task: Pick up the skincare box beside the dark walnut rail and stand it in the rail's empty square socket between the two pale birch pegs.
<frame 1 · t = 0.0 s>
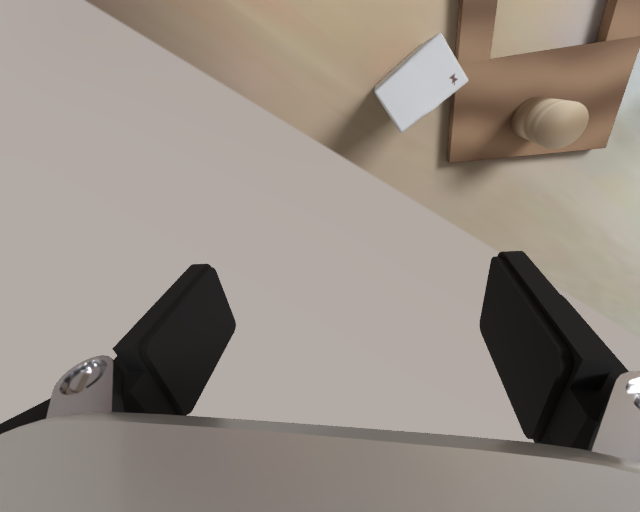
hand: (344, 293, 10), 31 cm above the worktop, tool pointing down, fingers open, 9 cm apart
skincare box: (405, 82, 33), on the worktop
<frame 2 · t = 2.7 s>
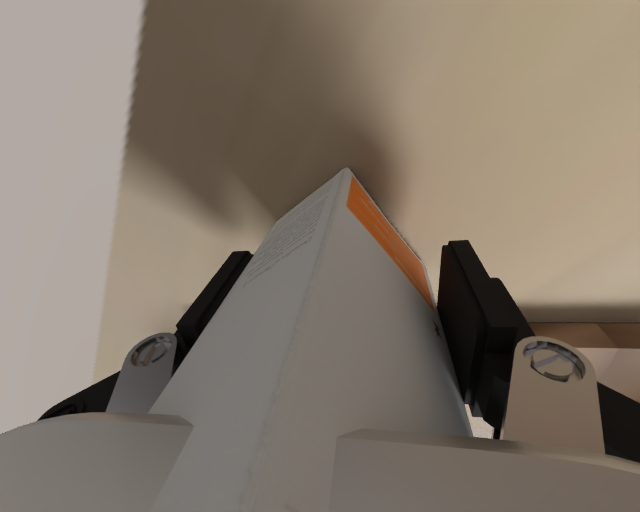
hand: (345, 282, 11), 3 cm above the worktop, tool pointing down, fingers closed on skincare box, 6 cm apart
walnut rail: (462, 415, 19), on the worktop
skincare box: (351, 239, 14), on the worktop, touching gripper
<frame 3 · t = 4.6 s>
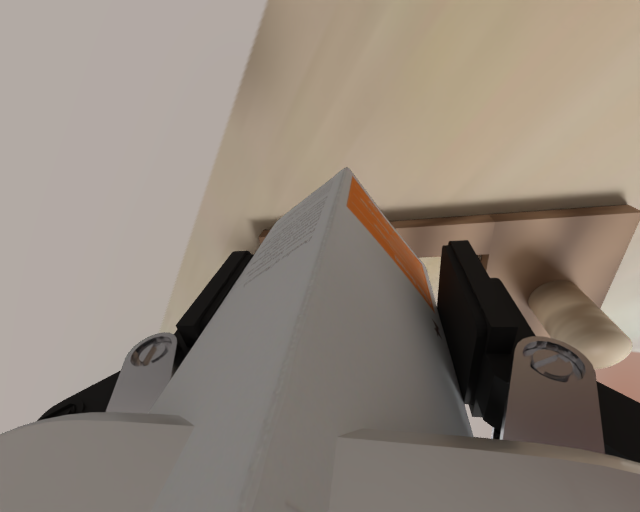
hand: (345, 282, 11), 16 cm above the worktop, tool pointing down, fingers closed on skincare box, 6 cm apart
walnut rail: (422, 291, 30), on the worktop
skincare box: (351, 239, 14), point 13 cm above the worktop, touching gripper
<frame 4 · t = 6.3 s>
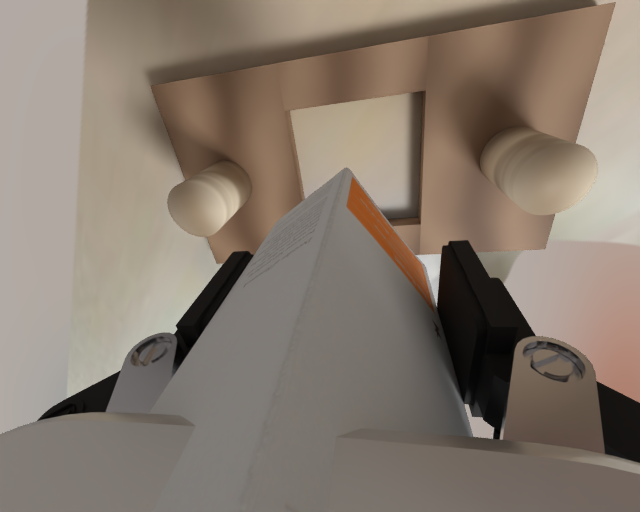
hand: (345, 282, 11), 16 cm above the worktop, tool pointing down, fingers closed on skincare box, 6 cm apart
walnut rail: (357, 166, 25), on the worktop
skincare box: (351, 239, 14), point 13 cm above the worktop, touching gripper
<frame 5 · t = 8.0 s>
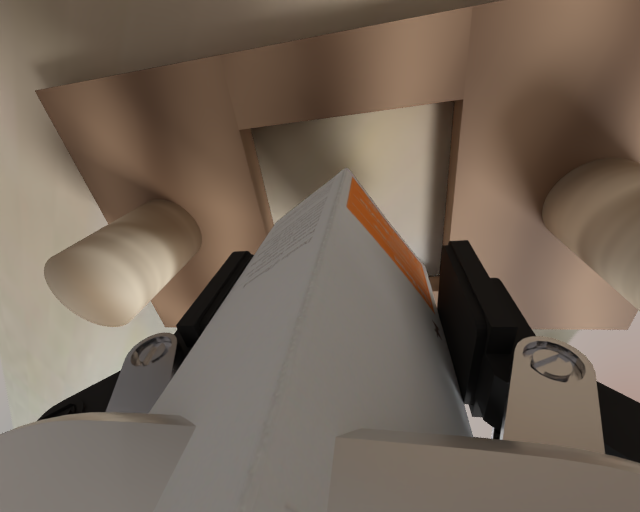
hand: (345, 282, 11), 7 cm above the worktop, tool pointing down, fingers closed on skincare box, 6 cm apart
walnut rail: (353, 207, 17), on the worktop
skincare box: (351, 239, 14), point 4 cm above the worktop, touching gripper
when the fingers open (3 cm above the worktop, at t = 9.7 s): skincare box stays where it is, resting in walnut rail.
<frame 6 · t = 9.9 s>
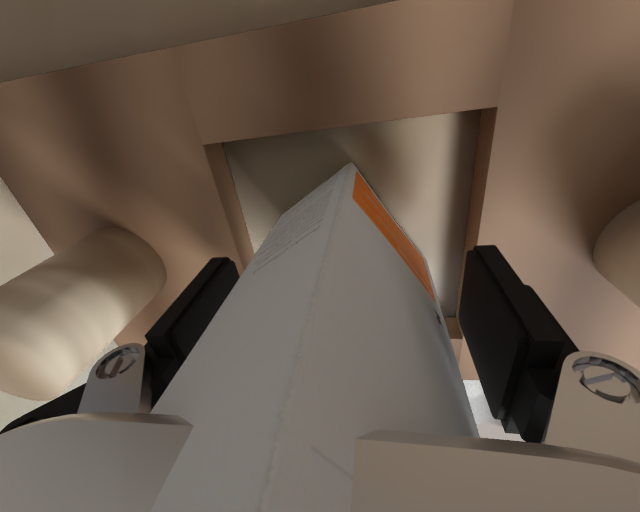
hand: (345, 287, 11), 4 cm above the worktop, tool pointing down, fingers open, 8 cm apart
walnut rail: (350, 237, 14), on the worktop
skincare box: (354, 233, 14), resting in walnut rail
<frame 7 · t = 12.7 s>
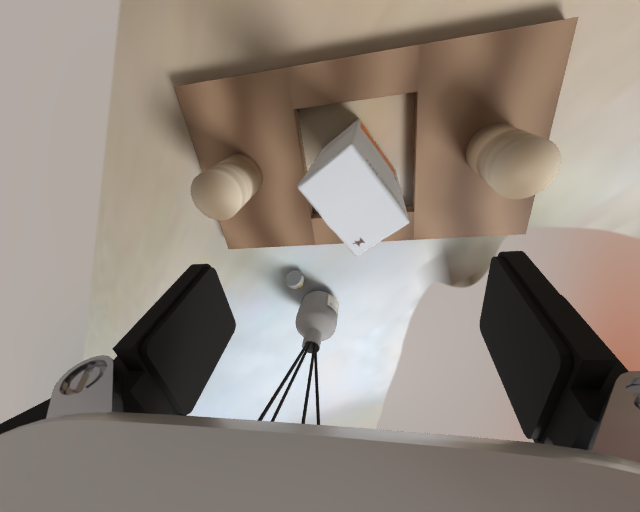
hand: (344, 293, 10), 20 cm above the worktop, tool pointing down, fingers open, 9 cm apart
walnut rail: (357, 159, 27), on the worktop
skincare box: (359, 157, 28), resting in walnut rail
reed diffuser: (312, 300, 38), on the worktop
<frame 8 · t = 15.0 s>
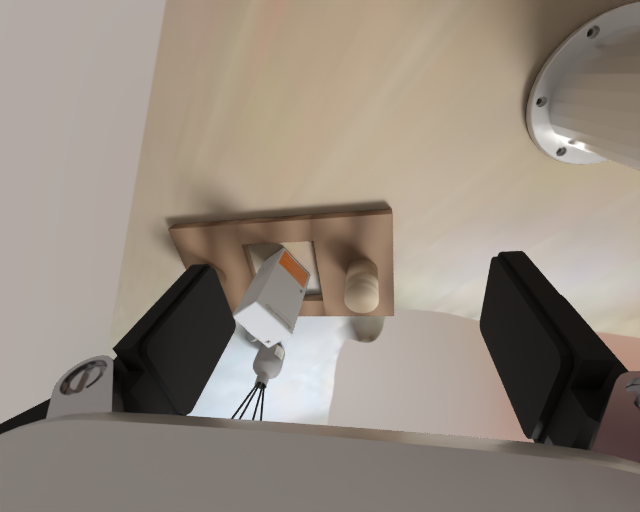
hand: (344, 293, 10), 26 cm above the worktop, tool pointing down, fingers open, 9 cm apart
walnut rail: (286, 267, 43), on the worktop
skincare box: (287, 266, 43), resting in walnut rail
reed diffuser: (268, 347, 53), on the worktop
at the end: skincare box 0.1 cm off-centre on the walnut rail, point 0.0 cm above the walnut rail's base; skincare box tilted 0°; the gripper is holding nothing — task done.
